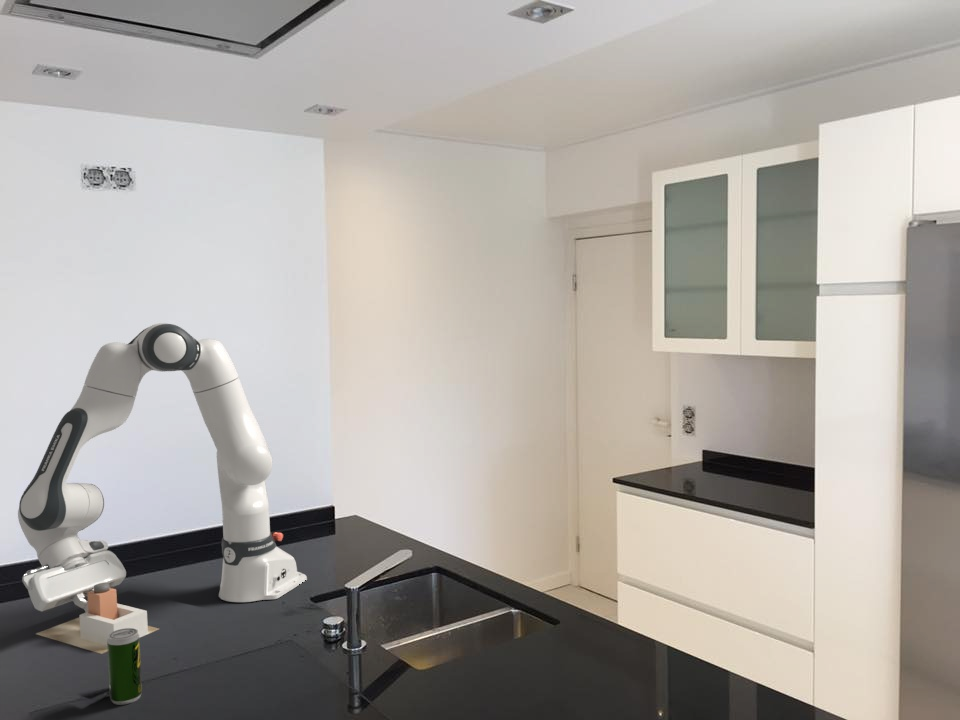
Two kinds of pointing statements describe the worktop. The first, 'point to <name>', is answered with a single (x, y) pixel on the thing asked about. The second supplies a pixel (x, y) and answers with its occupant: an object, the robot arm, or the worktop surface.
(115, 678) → the beer can
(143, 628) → the socket
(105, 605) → the plug
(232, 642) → the worktop surface
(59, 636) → the base board
